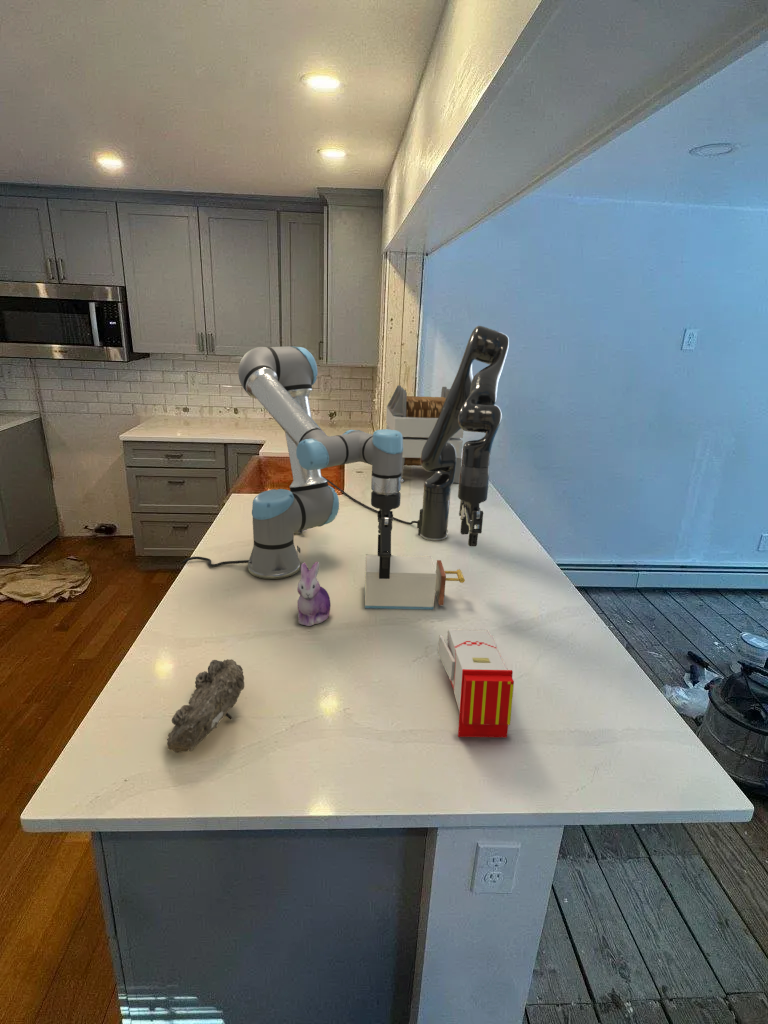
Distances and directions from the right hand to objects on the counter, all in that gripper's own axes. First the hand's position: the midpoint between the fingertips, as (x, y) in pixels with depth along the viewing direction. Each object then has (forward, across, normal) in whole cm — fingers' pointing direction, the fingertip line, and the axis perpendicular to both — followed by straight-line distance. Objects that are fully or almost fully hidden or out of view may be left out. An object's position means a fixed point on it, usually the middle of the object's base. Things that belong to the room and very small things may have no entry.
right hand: (468, 539), depth 152 cm
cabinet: (+17, 0, +18) cm, 25 cm away
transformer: (+16, +125, -9) cm, 126 cm away
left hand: (+8, 0, +23) cm, 24 cm away
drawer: (+16, 0, +12) cm, 20 cm away
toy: (+18, -40, +8) cm, 45 cm away
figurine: (+17, -9, +41) cm, 46 cm away
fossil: (+18, -45, +60) cm, 77 cm away
